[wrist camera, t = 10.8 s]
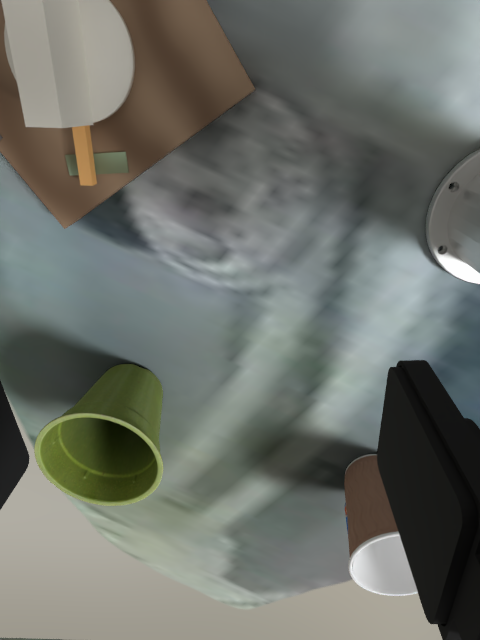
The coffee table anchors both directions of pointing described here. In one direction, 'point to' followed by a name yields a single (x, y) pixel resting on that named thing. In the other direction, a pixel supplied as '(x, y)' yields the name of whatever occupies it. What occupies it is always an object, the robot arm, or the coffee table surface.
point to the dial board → (130, 106)
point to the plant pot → (107, 440)
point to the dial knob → (69, 66)
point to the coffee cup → (374, 533)
